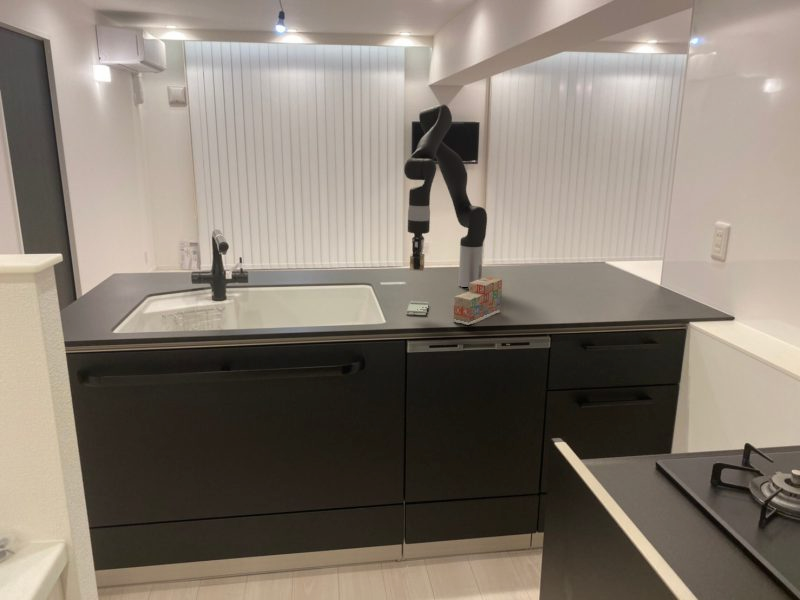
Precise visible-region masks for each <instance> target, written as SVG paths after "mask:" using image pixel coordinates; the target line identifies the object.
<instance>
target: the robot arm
mask: <svg viewBox="0 0 800 600" xmlns="http://www.w3.org/2000/svg"><path fill="white" fill-rule="evenodd" d="M418 115H419V118H418V119H419V124H420V126H421V129H422V131H423V133H424V135H423V136H422V137H421V138H420V140H419V141H418V144H417V146H416V149H415V151H414V152H413V153H412V154H411V155H410V156H409V158H407V160H406V162H405V164H404V168H403V169H404V170H403V171H404V175H405V177H406V179H408V180H411V181H423V184H422V185H420V186H419V185H418V186H415V187H411V188H409V192H408V210H407V232H408V233H409V234H413V237H412V238H411V243H412V247H411V248H412V253H413V255H412V256H413V258H414V263H413V268H414V269H420V258H421V254H423V250H424V243H425V237H424V236H423V234H425V235H426V234H429V232H430V224H431V221H430V220H431V210H430V209H431V207H430V204H431V203H430V202H431V201H430V200H431V199H430V198H431V191H432V190H431V189H432V185H433V183H434V179H435V176H436V172H437V165H438V167H439V170H440V173H441V175H442V177H443V181H444V182H445V185H446V188H447V189H448V193H449V196H450V198H451V201H452V205H453V208H454V211H455V212H454V213H455V217H456V219H457V221H458V223H459V225H460V226H462V227H463V228H466V229H467V234H466V235H465V236H462V237H461V238H460V241H459V243H460V245H459V246H460V247H459V267H458V287H459V286H462V287H469V283H470V282H473V281H476V280H479V279H481V278H483V277H482V273H483V251H484V250H483V249H484V248H483V247H484V241H485V239H486V235H487V227H488V226H487V225H488V224H487V223H488V214H487V211H486V209H485V208H484V207H482V206H477V205H472V203H471V201H470V199H469V197H468V193H467V186H468V172H467V169H466V167H465V163H464V161H463V159H462V157H461V156H460V155H459V154H458V153H457V152H455V150H453V149H451V148H450V147H449V146H448V145H446V143H444V142H443V139H444V138H445V136H446V135H447V133H448V132H449V130H450V129H451V127H452V123H453V118H452V117H453V116H452V112H451V110H450V108H449V107H448V106H447V105H446V104H437V105H435V106H431V107H428V108H425V109H423V110H421V111H420V112H419V114H418ZM435 159H436V162H437V164H436V162H435ZM462 287H461V288H462Z"/></svg>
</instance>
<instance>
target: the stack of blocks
mask: <svg viewBox="0 0 800 600" xmlns="http://www.w3.org/2000/svg"><path fill="white" fill-rule="evenodd" d="M502 287H503V279H502V278H494V277H489V276H487V277H486V276H485V277H482V278H481V279H479V280H476V281H473V282H470V283H469V288H468V291H466V292H463V293H461V294H459V295H455V296H454V305H453V320H454V319H456V320H460V321H464V322H468V323H469V322H471V321H473V320H476V319H478V318H480V317H483V316H484V315H487V314H490V313H492V312H494V311H497V310H499V309H500V310H501V305H502V304H501V303H502V302H501V300H502Z"/></svg>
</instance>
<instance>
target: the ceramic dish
mask: <svg viewBox="0 0 800 600" xmlns="http://www.w3.org/2000/svg"><path fill="white" fill-rule="evenodd" d="M428 305H429V306H430V304H429V302H428V301H412V300H411V301H409V303H408V306H407V310H406V312H407V313H409V312H413V313H426V311H423V310H420V309H426V308H425V307H427V308H428V309H429V307H428ZM422 307H424V308H422ZM417 309H418V310H417Z"/></svg>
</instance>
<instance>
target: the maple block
mask: <svg viewBox="0 0 800 600" xmlns="http://www.w3.org/2000/svg"><path fill="white" fill-rule="evenodd" d="M412 255H413V252H412V253H410V256H409V270H410V271H419V272H420V271H424V269H425V257H426V256H425V253H422V254H421V258H420V269H414V268H413V263H414V258H413V256H412Z"/></svg>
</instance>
